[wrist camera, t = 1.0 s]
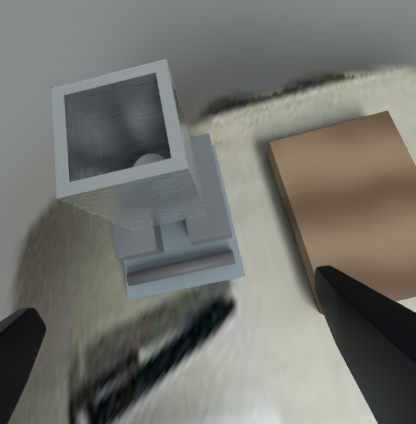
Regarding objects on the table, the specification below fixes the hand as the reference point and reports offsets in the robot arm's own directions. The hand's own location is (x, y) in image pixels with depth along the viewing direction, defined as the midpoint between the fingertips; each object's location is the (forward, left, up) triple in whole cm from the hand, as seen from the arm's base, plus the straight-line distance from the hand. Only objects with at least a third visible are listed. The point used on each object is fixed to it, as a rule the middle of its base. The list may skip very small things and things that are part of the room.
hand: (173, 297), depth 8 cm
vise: (+3, +5, -13) cm, 14 cm away
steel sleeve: (+5, +6, -9) cm, 12 cm away
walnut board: (+10, -8, -13) cm, 18 cm away
